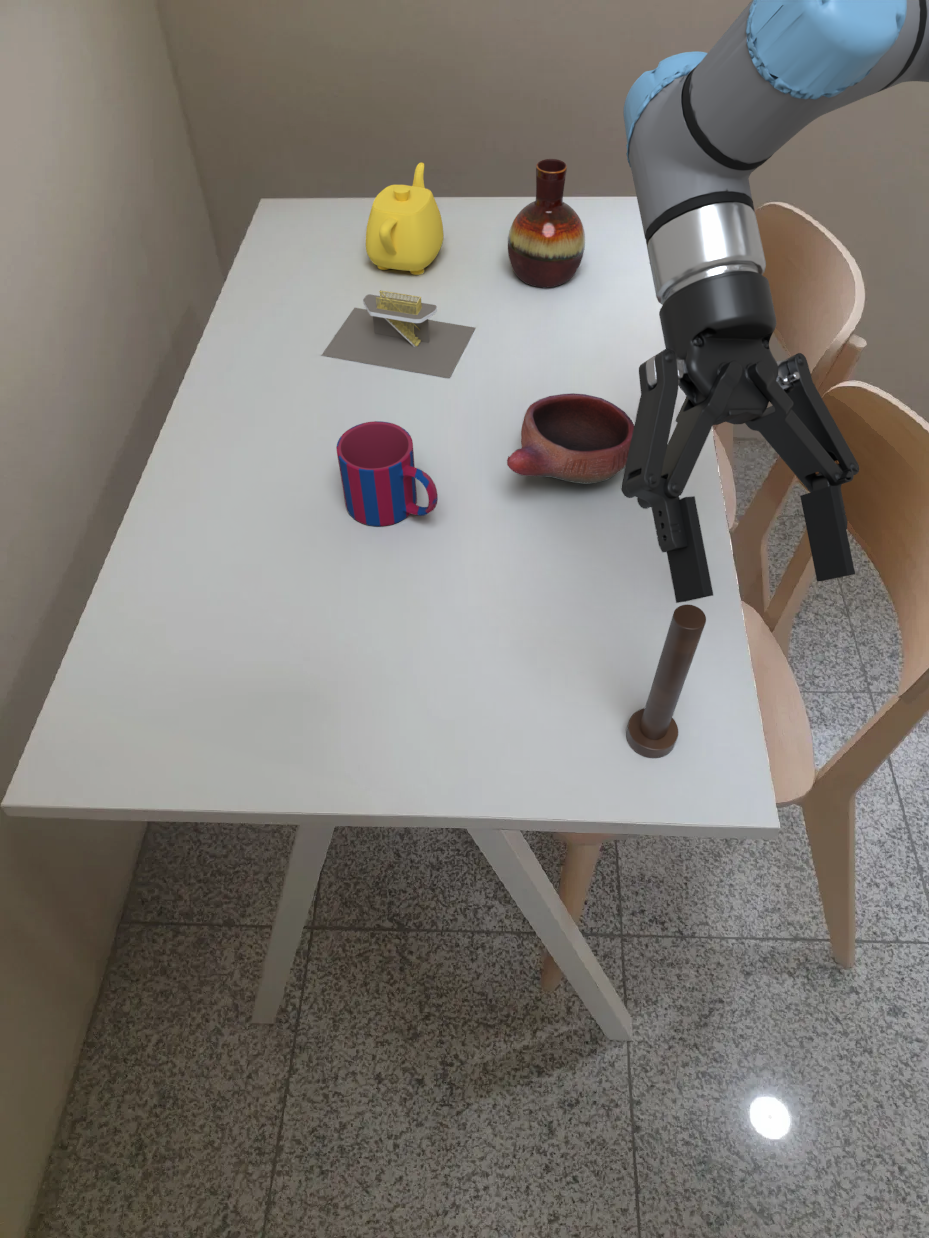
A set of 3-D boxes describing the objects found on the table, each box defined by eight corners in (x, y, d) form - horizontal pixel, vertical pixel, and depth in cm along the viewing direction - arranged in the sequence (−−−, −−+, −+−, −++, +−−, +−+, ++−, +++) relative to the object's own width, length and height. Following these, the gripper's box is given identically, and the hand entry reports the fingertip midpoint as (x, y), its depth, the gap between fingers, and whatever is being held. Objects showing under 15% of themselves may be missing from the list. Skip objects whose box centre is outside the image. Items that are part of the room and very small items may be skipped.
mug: (383, 467, 98) (377, 411, 92) (456, 518, 93) (455, 461, 86) (331, 502, 95) (320, 446, 88) (403, 556, 89) (398, 501, 83)
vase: (503, 256, 127) (506, 148, 115) (576, 253, 128) (586, 146, 116) (510, 296, 121) (514, 186, 108) (586, 293, 121) (599, 183, 109)
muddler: (678, 722, 76) (723, 600, 63) (671, 763, 74) (717, 646, 60) (630, 710, 77) (664, 588, 63) (622, 751, 75) (655, 632, 61)
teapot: (393, 225, 134) (387, 154, 125) (459, 234, 132) (458, 162, 123) (352, 283, 123) (343, 210, 115) (423, 294, 121) (420, 220, 113)
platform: (449, 378, 109) (448, 333, 103) (321, 355, 112) (313, 310, 107) (475, 327, 116) (475, 283, 111) (354, 307, 119) (349, 263, 114)
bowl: (535, 422, 103) (539, 367, 97) (639, 442, 100) (650, 387, 94) (499, 511, 94) (500, 456, 87) (612, 535, 91) (622, 480, 85)
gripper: (793, 322, 68) (844, 578, 67) (534, 308, 57) (590, 617, 55) (874, 276, 61) (933, 560, 60) (599, 250, 50) (665, 600, 49)
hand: (769, 588), depth 58 cm, fingers open, 13 cm apart
